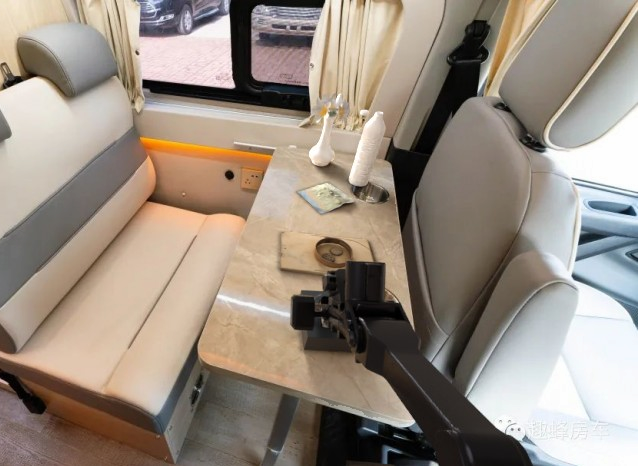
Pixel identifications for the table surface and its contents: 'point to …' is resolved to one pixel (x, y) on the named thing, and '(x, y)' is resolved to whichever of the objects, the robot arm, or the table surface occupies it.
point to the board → (320, 252)
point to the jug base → (322, 332)
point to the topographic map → (325, 197)
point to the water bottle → (367, 149)
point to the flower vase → (327, 126)
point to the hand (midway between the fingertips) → (330, 306)
